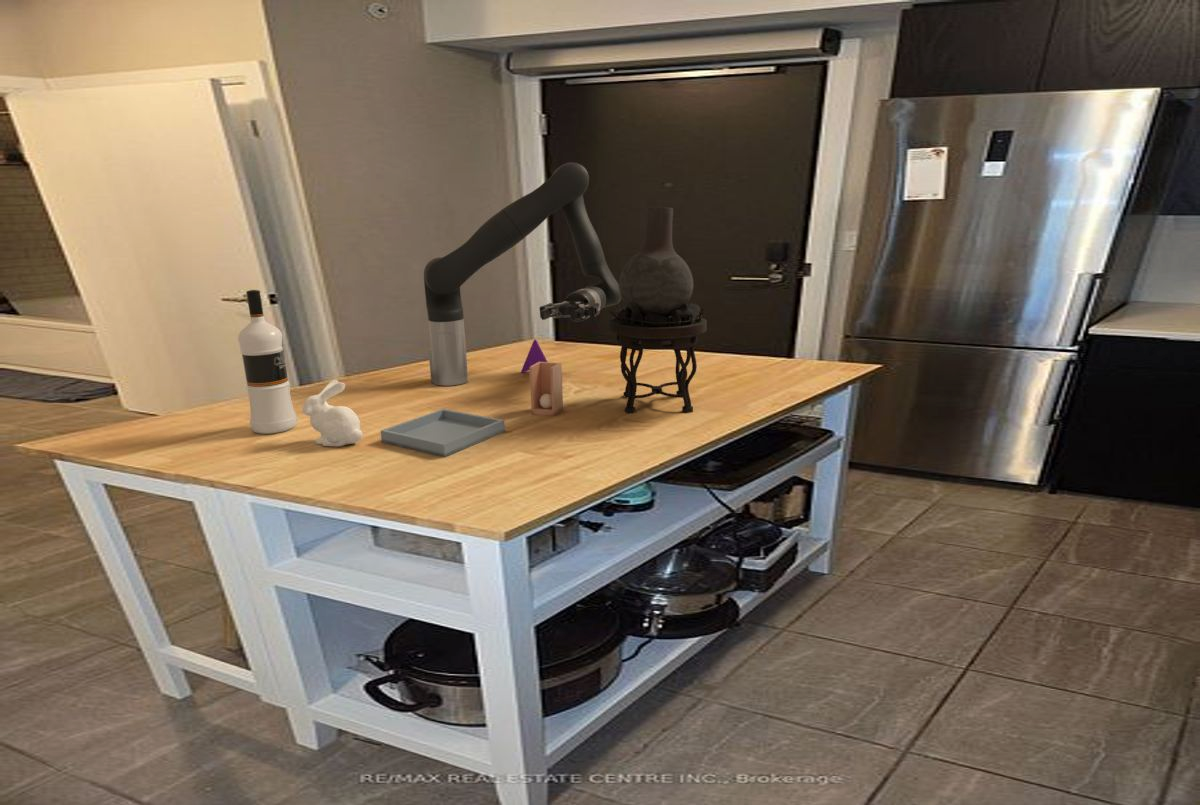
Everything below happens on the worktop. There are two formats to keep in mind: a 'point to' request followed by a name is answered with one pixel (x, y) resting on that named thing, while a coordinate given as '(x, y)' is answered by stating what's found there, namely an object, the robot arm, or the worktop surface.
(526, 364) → the arrowhead
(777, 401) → the worktop surface
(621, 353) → the brazier
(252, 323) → the vodka
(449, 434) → the tray
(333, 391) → the rabbit
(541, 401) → the ball
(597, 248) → the robot arm
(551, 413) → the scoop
